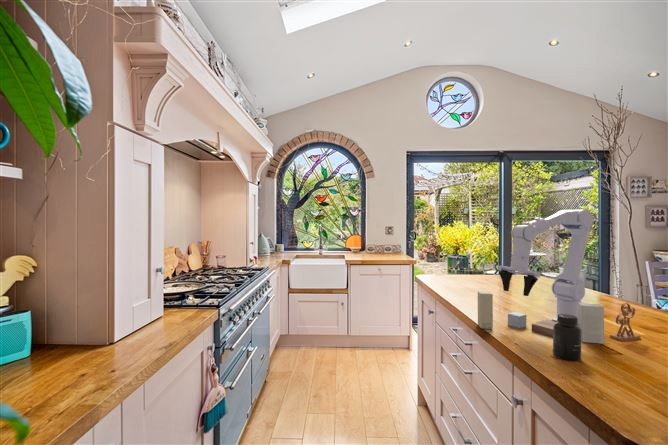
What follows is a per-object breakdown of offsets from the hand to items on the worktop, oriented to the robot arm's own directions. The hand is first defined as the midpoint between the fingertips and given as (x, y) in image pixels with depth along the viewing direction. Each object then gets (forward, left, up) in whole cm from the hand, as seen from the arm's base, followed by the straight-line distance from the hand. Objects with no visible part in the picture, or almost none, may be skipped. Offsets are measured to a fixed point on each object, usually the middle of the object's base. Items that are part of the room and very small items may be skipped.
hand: (515, 293), depth 124 cm
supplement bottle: (+13, +23, -13) cm, 29 cm away
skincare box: (-8, +21, -13) cm, 26 cm away
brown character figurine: (-21, +25, -13) cm, 35 cm away
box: (+10, -6, -13) cm, 17 cm away
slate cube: (-2, -1, -13) cm, 13 cm away
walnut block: (-6, +10, -13) cm, 18 cm away
